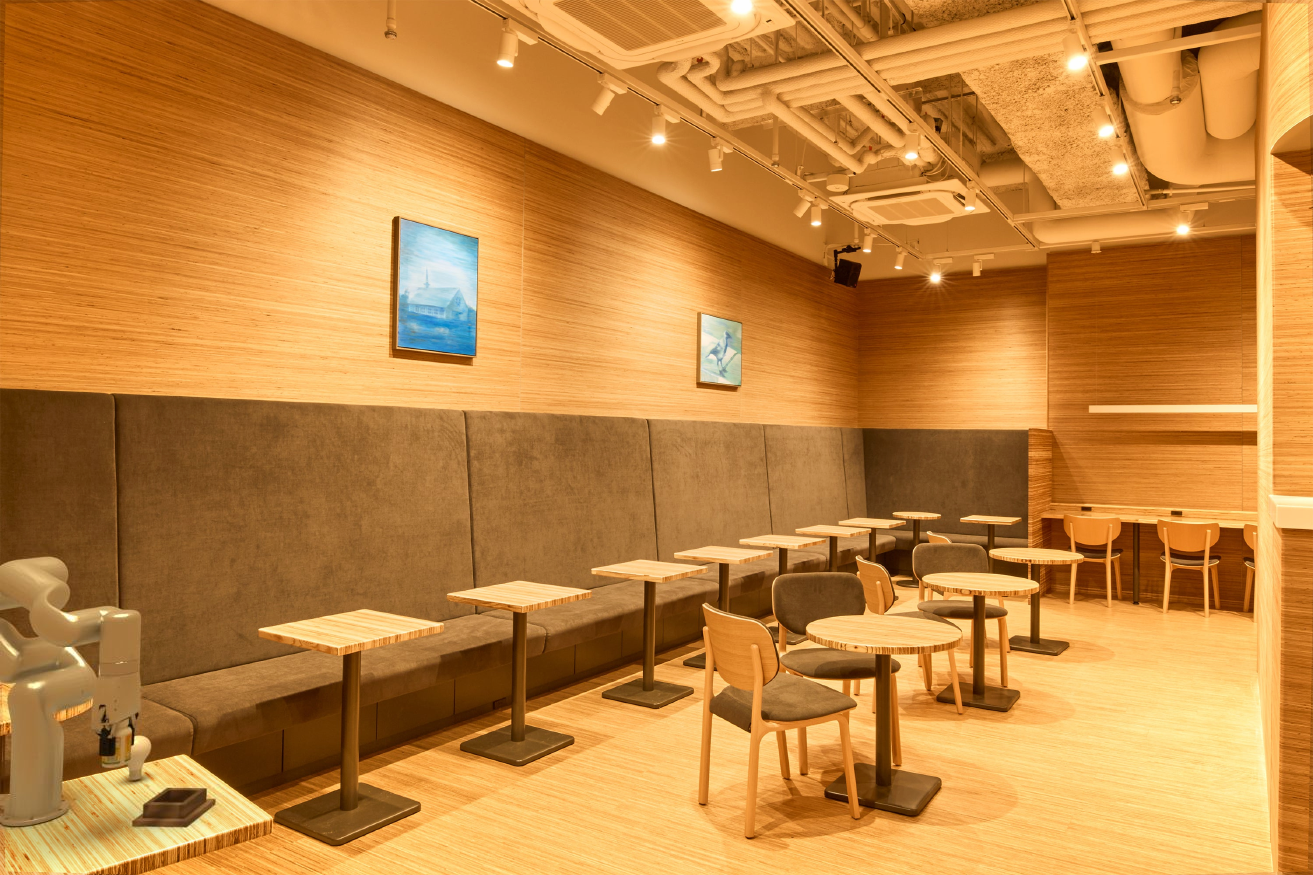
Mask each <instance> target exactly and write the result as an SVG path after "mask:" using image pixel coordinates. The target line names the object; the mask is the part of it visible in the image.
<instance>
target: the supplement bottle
mask: <svg viewBox="0 0 1313 875" xmlns="http://www.w3.org/2000/svg"><path fill="white" fill-rule="evenodd" d="M106 723H109V720H106ZM128 724H129V718H126V719H124V720H122V721H120V722H118V723H117V724H116V728H115V732H114V736H113V737H116V749H115V755H114V756H101V766H102V767H103V768H106V769H108V768H109V769H112V768H113V769H114V768H119V767H122V766H123V767H124V766H125V765H128V764H127V763H129V762H130V760H131V741H132V729H131V728H130V727H128ZM106 728H107V729H108V730H109V728H110V726H106Z"/></svg>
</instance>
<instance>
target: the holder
mask: <svg viewBox="0 0 1313 875" xmlns="http://www.w3.org/2000/svg"><path fill="white" fill-rule="evenodd" d="M207 791H208V788H206V787H167V788H165V789H164V790H161V792H159V793H157V794H156V795H155V796H153V797H152V798H150V799H149V800H148V801H146V802H145V803H143V804H142V813H141V814H140V815H139V816H137V817H135V818H134V819H132V822H131V823H132V824H131V827H154V828H155V827H161V828H162V827H164V828H165V827H167V828H168V827H169V828H170V827H171V828H188V826H190V825H191V824H192V823H193V822H194V821H196V820H197V819H199V818H200V817H201V816H202V815H203V814H205V813H206V812H207V811H209V809H211V808H212V807H213V806H215V805H216V802H217V799H216V798H208V796H207V794H208V792H207Z"/></svg>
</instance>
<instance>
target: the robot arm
mask: <svg viewBox="0 0 1313 875" xmlns="http://www.w3.org/2000/svg"><path fill="white" fill-rule="evenodd" d="M68 578H69V570H68V566H66V564H65V563H64V562H63V561H62V560H61V559H59V558H57V557H54V556H41V557H32V558H22V559H15V560H11V561H7V562H4V563H2V564H1V565H0V611H2V610H3V611H4V610H8V609H14V608H15V609H16V608H20V607H23V608H25V609H26V610H28V611H29V616H28V617H29V624H30V626H31V629H32V630H33V632H34V633H35V635H36V636H35V637H24V636H23V635H22V634H21V633H20V632H19V631H18V629H17V628H16V627H15V626H14V625H13V624H12V623H11V622H9V621H8V620H6V619H4V618H2V617H0V683H2V684H7V685H12V684H14V685H13V686H12V687H11V688H10V690H9V692H8V693H7V698H6V700H7V709H8V713H9V718H10V726H11V729H10V730H11V742H10V743H11V746H10V747H11V748H10V750H11V751H10V752H11V753H10V770H9V771H10V772H9V773H10V774H9V775H10V776H9V778H10V779H9V794H4V793H0V808H3V811H2V813H1V814H0V822H1V823H2V825H3V826H7V827H24V826H31V825H36V824H37V825H38V824H41V823H45V822H48V821H51V820H54V819H56V818H58V817H60V816H62V815H64V814H65V813H67V812H68V811H69V809H70V801H69V800H68V799H65V798H62V797H63V796H62V794H63V776H64V775H63V774H64V770H63V769H64V768H63V767H64V750H65V748H64V746H65V745H64V743H65V733H64V728H63V726H62V725H61V723H60V722H59V721H58V720H57V719H56V717H55V714H57V713H60V712H64V711H65V710H70V709H74V708H76V707H79V706H83V705H85V704H87V703H89V702H90V701H91V700H92V704H91V717H90V718H91V727H90V729H91V730H92V731H93V732H94V733H95V734H96V735H97V739H98V740H99V742H98V746H99V747H98V756H99V757H102V756H114V755H115V749H116V737H113V736H114V732H115V728H116V724H117V723H118V722H120V721H122V720H124V719H126V718H129V724H128V727H130V728H131V729H132V741H131V746H133V745H134V736H136V734H135V732H136V729H135V728H136V727H137V724H138V723H137V719H138V718H139V715H140V712H141V711H142V709H143V707H144V706H143V703H142V683H141V674H140V671H141V670H140V668H141V666H140V665H141V638H142V637H141V635H142V634H141V633H142V616H141V613H140V612H139V611H138V610H135V609H122V608H119V607H116V606H112V605H103V606H97V607H92V608H84V609H79V610H74V611H70V612H65V611H62V609H63V608H64V607H65V606H66V604H67V602H68V601H69V599H70V596H71V589H70V587H69V585H68V583H67V581H68ZM97 642H99V657H98V677H97V675H96V673H95V670H94V669H93V668H92V667H91V666H90V664H88V662H87V661H86V660H85V658H84V657H83V656H82V655H81V653H80V652H79V651H78V650H77V649H76V647H79V646H83V645H86V644H92V643H97ZM108 720H109V723H107V721H108ZM107 726H110V728H109V730H108V728H107ZM1 823H0V824H1Z"/></svg>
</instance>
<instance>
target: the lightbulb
mask: <svg viewBox="0 0 1313 875" xmlns="http://www.w3.org/2000/svg"><path fill="white" fill-rule="evenodd" d="M151 743H152V742H151V741H150V739H149V738H148V737H146V736H144V735H134V745H133V746H131V760H130V762H129V763H127V764H126V765H127V768H128V769H129V770H128V772H129V773H128V775H129V776H128V779H129V780H130V781H132V782H136V781H139V780H140V779H141V778H142V776H143V774H142V772H143V771H142V770H143V767H144V764H145V760H146V759H147V757H148V756H149V755H150V753H151V750H152V744H151Z"/></svg>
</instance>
